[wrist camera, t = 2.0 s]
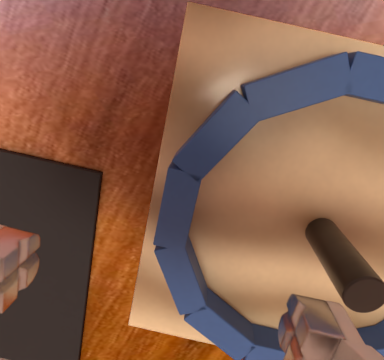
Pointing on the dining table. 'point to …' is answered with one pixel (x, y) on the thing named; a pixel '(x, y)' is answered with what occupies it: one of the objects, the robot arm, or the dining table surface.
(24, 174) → the mat
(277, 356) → the ring
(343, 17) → the dining table surface
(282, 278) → the platform
